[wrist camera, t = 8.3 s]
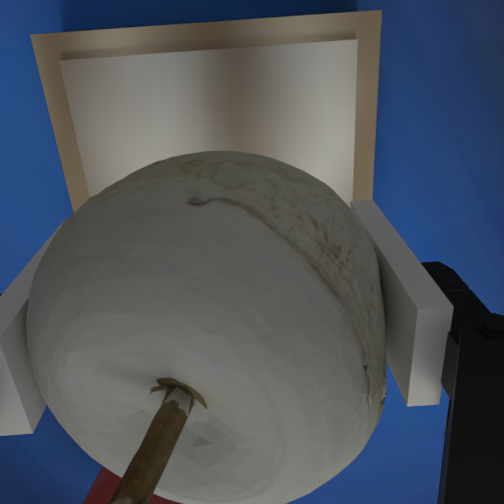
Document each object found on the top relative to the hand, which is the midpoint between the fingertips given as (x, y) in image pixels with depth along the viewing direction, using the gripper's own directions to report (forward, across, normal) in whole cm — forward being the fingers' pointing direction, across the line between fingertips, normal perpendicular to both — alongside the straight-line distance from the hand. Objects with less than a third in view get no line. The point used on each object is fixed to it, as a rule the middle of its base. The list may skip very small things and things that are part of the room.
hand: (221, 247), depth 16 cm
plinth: (+10, 0, 0) cm, 10 cm away
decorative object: (+1, 0, 0) cm, 1 cm away
